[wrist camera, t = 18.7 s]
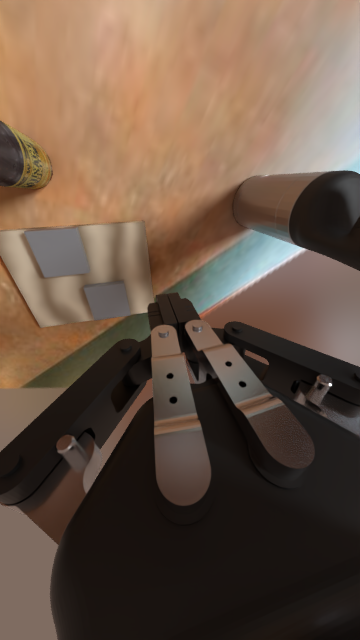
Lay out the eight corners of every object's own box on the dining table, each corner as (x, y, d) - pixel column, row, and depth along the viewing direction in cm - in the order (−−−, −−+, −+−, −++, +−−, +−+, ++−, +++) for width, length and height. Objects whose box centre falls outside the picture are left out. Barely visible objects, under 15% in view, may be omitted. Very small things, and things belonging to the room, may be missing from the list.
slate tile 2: (124, 283, 41) (83, 288, 39) (130, 315, 45) (94, 320, 44) (124, 279, 42) (85, 284, 41) (130, 311, 47) (95, 316, 45)
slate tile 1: (75, 228, 33) (23, 231, 32) (89, 272, 38) (44, 277, 36) (77, 226, 35) (28, 229, 33) (90, 269, 39) (47, 274, 38)
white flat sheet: (143, 220, 38) (144, 221, 37) (154, 307, 49) (155, 310, 48) (-8, 230, 33) (-13, 232, 32) (42, 323, 45) (40, 327, 44)
